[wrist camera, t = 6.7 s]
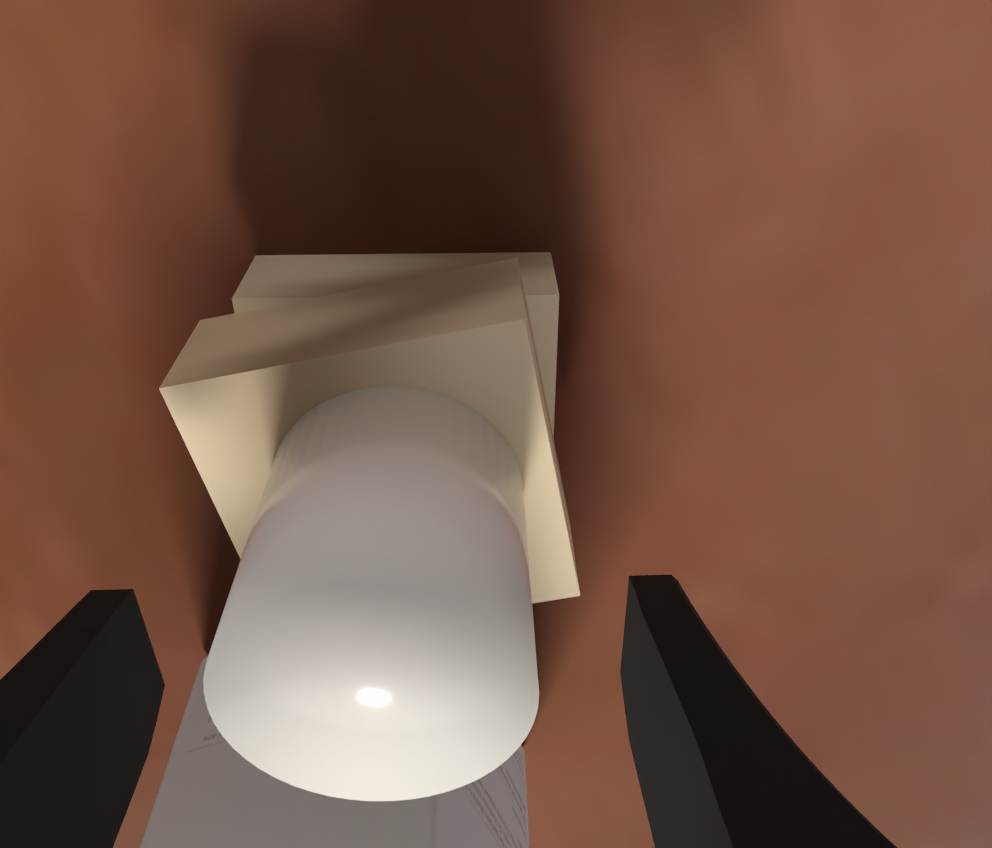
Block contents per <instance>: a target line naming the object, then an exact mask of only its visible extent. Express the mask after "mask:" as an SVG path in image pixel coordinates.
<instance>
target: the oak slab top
mask: <svg viewBox="0 0 992 848" xmlns="http://www.w3.org/2000/svg"><path fill="white" fill-rule="evenodd" d="M375 386H408V387H416V388H422V389H426V390H430V391H434V392H438V393H441V394H444V395H446V396H449V397H452V398H454V399H456V400H458V401H460V402H462V403H464V404H466V405H468V406H470V407H471V408H473V409H474V410H476V411H477V412H479V413H480V414H482V415H483V416H484V417H485V418H486V419H488V420H489V421H490V422H491V423H492V424H493V425H494V426H495V427H496V428H497V429H498V430H499V431H500V432H501V434H502V435H503V436H504V437H505V439H506V440H507V442H508V443H509V445H510V446H511V448H512V449H513V452H514V454H515V456H516V458H517V461H518V463H519V467H520V470H521V474H522V482H523V492H524V505H525V518H526V531H527V543H528V556H529V569H530V582H531V595H532V604H533V603H539V602H545V601H551V600H557V599H564V598H570V597H576V596H580V590H579V583H578V576H577V569H576V562H575V555H574V548H573V541H572V535H571V528H570V521H569V514H568V509H567V504H566V499H565V494H564V489H563V484H562V479H561V474H560V469H559V464H558V459H557V453H556V448H555V443H554V438H553V433H552V428H551V423H550V418H549V413H548V408H547V403H546V398H545V393H544V388H543V383H542V378H541V373H540V368H539V363H538V358H537V353H536V348H535V343H534V338H533V333H532V327H531V322H530V317H529V312H528V307H527V302H526V297H525V292H524V287H523V282H522V277H521V272H520V267H519V262H518V258H513V259H508V260H503V261H497V262H492V263H487V264H482V265H477V266H472V267H467V268H462V269H457V270H452V271H447V272H442V273H437V274H432V275H426V276H421V277H416V278H411V279H406V280H401V281H396V282H391V283H386V284H381V285H376V286H371V287H366V288H361V289H355V290H350V291H345V292H340V293H335V294H330V295H325V296H320V297H315V298H310V299H305V300H300V301H295V302H290V303H285V304H280V305H275V306H270V307H265V308H259V309H254V310H249V311H244V312H239V313H234V314H229V315H224V316H218V317H213V318H208V319H203V320H200V321H199V323H198V324H197V326H196V327H195V329H194V331H193V332H192V334H191V336H190V337H189V339H188V341H187V342H186V344H185V346H184V347H183V349H182V351H181V352H180V354H179V356H178V357H177V359H176V361H175V362H174V364H173V366H172V367H171V369H170V371H169V372H168V374H167V376H166V377H165V379H164V381H163V382H162V384H161V386H160V387H159V390H160V392H161V394H162V396H163V398H164V400H165V402H166V404H167V406H168V409H169V411H170V413H171V415H172V417H173V419H174V421H175V423H176V425H177V427H178V430H179V432H180V434H181V436H182V438H183V440H184V442H185V444H186V446H187V448H188V450H189V453H190V455H191V457H192V459H193V461H194V463H195V465H196V467H197V469H198V471H199V473H200V476H201V478H202V480H203V482H204V484H205V486H206V488H207V490H208V492H209V494H210V496H211V499H212V501H213V503H214V505H215V507H216V509H217V511H218V513H219V515H220V517H221V519H222V522H223V524H224V526H225V528H226V530H227V532H228V534H229V536H230V538H231V540H232V542H233V545H234V547H235V549H236V551H237V553H238V555H239V557H240V559H241V557H242V554H243V551H244V548H245V545H246V542H247V539H248V536H249V533H250V530H251V527H252V524H253V521H254V518H255V515H256V512H257V509H258V506H259V503H260V500H261V497H262V494H263V492H264V489H265V486H266V483H267V480H268V477H269V474H270V471H271V468H272V465H273V462H274V459H275V456H276V454H277V451H278V448H279V446H280V444H281V442H282V441H283V439H284V437H285V436H286V434H287V433H288V432H289V430H290V429H291V428H292V427H293V425H294V424H295V423H296V422H297V421H298V420H299V419H300V418H302V417H303V416H304V415H305V414H306V413H307V412H309V411H310V410H312V409H313V408H314V407H316V406H317V405H319V404H321V403H323V402H325V401H327V400H329V399H331V398H333V397H335V396H338V395H340V394H343V393H346V392H349V391H353V390H357V389H362V388H367V387H375Z"/></svg>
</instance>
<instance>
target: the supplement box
mask: <svg viewBox="0 0 992 848" xmlns="http://www.w3.org/2000/svg"><path fill="white" fill-rule="evenodd" d="M207 658H208V656H207V657H205V658H204V659H203V660H202V662H201V665H200V667H199V670H198V673H197V676H196V679H195V682H194V685H193V688H192V691H191V694H190V697H189V701H188V704H187V707H186V710H185V713H184V716H183V719H182V722H181V724H180V727H179V730H178V733H177V736H176V739H175V742H174V746H173V749H172V752H171V755H170V758H169V761H168V764H167V767H166V770H165V773H164V777H163V780H162V783H161V786H160V789H159V792H158V795H157V798H156V801H155V804H154V807H153V810H152V813H151V816H150V819H149V822H148V825H147V828H146V831H145V835H144V838H143V841H142V844H141V847H140V848H529V831H528V808H527V786H526V769H525V753H524V749H523V747H522V745H520V747H519V748H518V749H517V750H516V751H515V752H514V753H513V754H512V755H511V756H510V757H509V758H508V759H507V760H506V761H505V762H504V763H502V764H501V765H500V766H499V767H497V768H496V769H495V770H493V771H491V772H490V773H488V774H486V775H485V776H483V777H482V778H480V779H478V780H476V781H473V782H471V783H469V784H467V785H465V786H462V787H459V788H457V789H454V790H451V791H448V792H445V793H441V794H437V795H433V796H429V797H423V798H417V799H411V800H399V801H360V800H349V799H343V798H336V797H330V796H326V795H322V794H318V793H314V792H310V791H307V790H304V789H301V788H298V787H295V786H293V785H290V784H288V783H286V782H283V781H281V780H279V779H277V778H275V777H273V776H271V775H269V774H267V773H266V772H264V771H262V770H260V769H259V768H257V767H256V766H254V765H253V764H252V763H250V762H249V761H247V760H246V759H245V758H244V757H242V756H241V755H240V754H239V753H238V752H237V751H236V750H235V749H233V748H232V747H231V745H230V744H229V743H228V742H227V741H226V740H225V738H224V737H223V736H222V735H221V733H220V732H219V730H218V729H217V727H216V725H215V724H214V722H213V720H212V718H211V716H210V713H209V711H208V709H207V705H206V701H205V696H204V684H203V677H204V671H205V666H206V661H207Z"/></svg>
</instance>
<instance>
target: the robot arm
mask: <svg viewBox="0 0 992 848" xmlns="http://www.w3.org/2000/svg"><path fill="white" fill-rule="evenodd" d="M620 673H621V681H622V689H623V697H624V705H625V713H626V720H627V727H628V735H629V741H630V745H631V749H632V754H633V758H634V762H635V766H636V770H637V774H638V779H639V783H640V787H641V791H642V795H643V799H644V803H645V807H646V812H647V816H648V820H649V824H650V828H651V832H652V836H653V840H654V844H655V848H897V847H896V846H895V845H894V844H893V843H891V842H890V841H889V840H888V839H887V838H886V837H885V836H884V835H883V834H882V833H881V832H880V831H879V830H877V829H876V828H875V827H874V826H873V825H872V824H871V823H870V822H869V821H868V820H867V819H866V818H865V817H864V816H863V815H862V814H861V813H860V812H859V811H858V810H857V809H856V808H855V807H854V806H853V805H852V804H851V803H850V802H849V801H848V800H847V799H846V798H845V797H844V796H843V795H842V794H841V793H840V792H839V791H838V790H837V789H836V788H835V787H834V786H833V784H832V783H831V782H830V781H829V780H828V779H827V778H826V777H825V776H824V775H823V774H822V773H821V772H820V771H819V770H818V769H817V767H816V766H815V765H814V764H813V763H812V762H811V761H810V760H809V759H808V758H807V756H806V755H805V754H804V753H803V752H802V751H801V750H800V748H799V747H798V746H797V745H796V744H795V743H794V742H793V740H792V739H791V738H790V737H789V736H788V734H787V733H786V732H785V731H784V730H783V728H782V727H781V726H780V725H779V724H778V722H777V721H776V720H775V719H774V718H773V717H772V715H771V714H770V713H769V712H768V710H767V709H766V708H765V706H764V705H763V704H762V703H761V701H760V700H759V699H758V698H757V696H756V695H755V694H754V692H753V691H752V690H751V688H750V687H749V686H748V684H747V683H746V682H745V680H744V679H743V678H742V676H741V675H740V674H739V672H738V671H737V670H736V668H735V667H734V666H733V664H732V663H731V662H730V660H729V659H728V658H727V656H726V655H725V653H724V652H723V651H722V649H721V648H720V646H719V645H718V643H717V642H716V640H715V639H714V637H713V636H712V634H711V633H710V632H709V630H708V629H707V627H706V626H705V624H704V623H703V621H702V620H701V618H700V616H699V615H698V613H697V612H696V610H695V609H694V607H693V605H692V604H691V602H690V601H689V599H688V597H687V596H686V594H685V592H684V591H683V589H682V587H681V586H680V584H679V582H678V581H677V580H676V579H675V578H674V577H673V576H672V575H644V576H629V585H628V595H627V606H626V617H625V628H624V639H623V650H622V661H621V672H620ZM164 686H165V684H164V681H163V678H162V675H161V672H160V669H159V666H158V663H157V660H156V657H155V654H154V651H153V648H152V645H151V642H150V639H149V636H148V633H147V630H146V627H145V624H144V621H143V618H142V615H141V612H140V609H139V606H138V603H137V600H136V596H135V593H134V590H133V589H123V590H91V591H90V592H89V593H88V594H87V595H86V596H85V597H84V598H83V599H82V600H81V601H79V602H78V603H77V604H76V605H75V606H74V607H73V608H72V609H71V610H70V611H69V612H68V613H67V614H66V615H65V616H64V617H63V618H62V619H61V620H60V621H59V622H58V623H57V624H56V625H55V626H54V627H53V628H52V629H51V630H50V631H49V632H48V633H47V634H46V635H45V636H44V637H43V638H42V639H41V640H40V641H39V642H38V643H37V644H36V645H35V646H34V647H33V648H32V649H31V650H30V651H29V652H28V653H27V654H26V655H25V656H24V657H23V658H22V659H21V660H20V661H19V662H18V663H17V664H16V665H15V666H14V667H13V668H12V669H11V670H10V671H9V672H8V673H7V674H6V675H5V676H4V677H3V678H2V679H1V680H0V848H113V845H114V843H115V840H116V837H117V835H118V832H119V830H120V827H121V824H122V822H123V819H124V817H125V814H126V811H127V809H128V806H129V804H130V801H131V798H132V796H133V793H134V790H135V788H136V785H137V782H138V780H139V777H140V774H141V772H142V769H143V766H144V764H145V761H146V758H147V755H148V753H149V749H150V745H151V741H152V737H153V733H154V729H155V725H156V721H157V717H158V713H159V708H160V704H161V699H162V695H163V691H164Z"/></svg>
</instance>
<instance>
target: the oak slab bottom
mask: <svg viewBox="0 0 992 848" xmlns="http://www.w3.org/2000/svg"><path fill="white" fill-rule="evenodd" d="M513 258H518V262H519V267H520V272H521V277H522V282H523V287H524V292H525V297H526V302H527V307H528V312H529V317H530V322H531V327H532V333H533V338H534V343H535V348H536V353H537V358H538V363H539V368H540V373H541V378H542V383H543V388H544V393H545V398H546V403H547V408H548V413H549V418H550V423H551V428H552V433H553V438H554V414H555V389H556V364H557V339H558V314H559V291H558V286H557V281H556V276H555V271H554V266H553V261H552V256H551V252H516V253H423V254H330V255H256V256H255V257H254V259H253V261H252V263H251V265H250V266H249V268H248V270H247V272H246V274H245V275H244V277H243V279H242V281H241V283H240V285H239V286H238V288H237V290H236V292H235V294H234V295H233V297H232V302H233V308H234V313H239V312H244V311H249V310H254V309H259V308H265V307H270V306H275V305H280V304H285V303H290V302H295V301H300V300H305V299H310V298H315V297H320V296H325V295H330V294H335V293H340V292H345V291H350V290H355V289H361V288H366V287H371V286H376V285H381V284H386V283H391V282H396V281H401V280H406V279H411V278H416V277H421V276H426V275H432V274H437V273H442V272H447V271H452V270H457V269H462V268H467V267H472V266H477V265H482V264H487V263H492V262H497V261H503V260H508V259H513Z"/></svg>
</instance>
